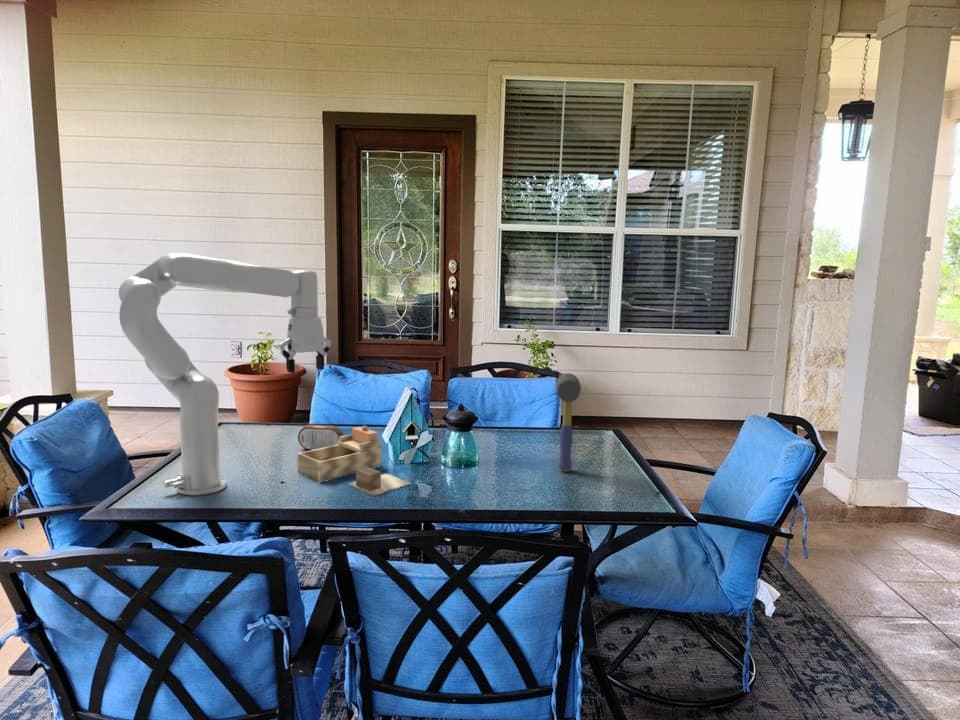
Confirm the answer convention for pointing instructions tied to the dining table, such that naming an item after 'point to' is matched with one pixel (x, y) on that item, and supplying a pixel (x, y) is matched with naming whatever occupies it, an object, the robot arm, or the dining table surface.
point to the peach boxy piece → (364, 434)
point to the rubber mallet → (567, 416)
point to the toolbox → (339, 458)
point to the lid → (376, 481)
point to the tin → (318, 436)
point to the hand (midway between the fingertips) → (305, 370)
